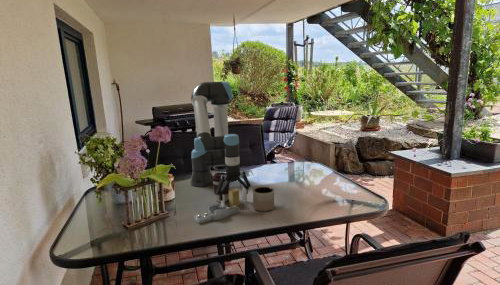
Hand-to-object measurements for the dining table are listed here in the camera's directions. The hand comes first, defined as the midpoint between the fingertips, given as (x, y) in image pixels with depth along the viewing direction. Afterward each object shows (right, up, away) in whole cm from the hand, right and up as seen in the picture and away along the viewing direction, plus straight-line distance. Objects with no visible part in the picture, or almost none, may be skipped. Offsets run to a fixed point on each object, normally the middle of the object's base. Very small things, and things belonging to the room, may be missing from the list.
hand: (234, 203), depth 168 cm
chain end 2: (-3, -3, -11) cm, 12 cm away
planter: (+15, -2, -5) cm, 16 cm away
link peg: (0, -1, 0) cm, 1 cm away
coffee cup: (-7, 0, +7) cm, 10 cm away
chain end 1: (-12, -4, -17) cm, 21 cm away
